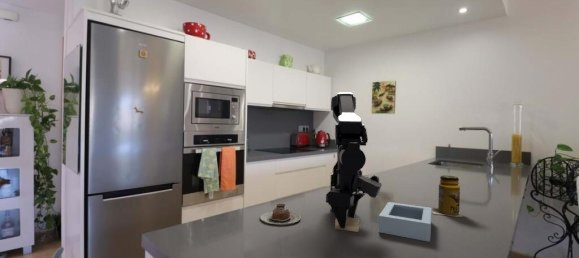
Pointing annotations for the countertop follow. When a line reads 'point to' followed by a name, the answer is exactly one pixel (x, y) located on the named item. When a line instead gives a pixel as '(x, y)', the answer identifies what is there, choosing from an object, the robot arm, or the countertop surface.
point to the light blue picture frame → (406, 221)
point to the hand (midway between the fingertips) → (347, 223)
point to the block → (349, 224)
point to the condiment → (448, 197)
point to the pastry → (280, 215)
